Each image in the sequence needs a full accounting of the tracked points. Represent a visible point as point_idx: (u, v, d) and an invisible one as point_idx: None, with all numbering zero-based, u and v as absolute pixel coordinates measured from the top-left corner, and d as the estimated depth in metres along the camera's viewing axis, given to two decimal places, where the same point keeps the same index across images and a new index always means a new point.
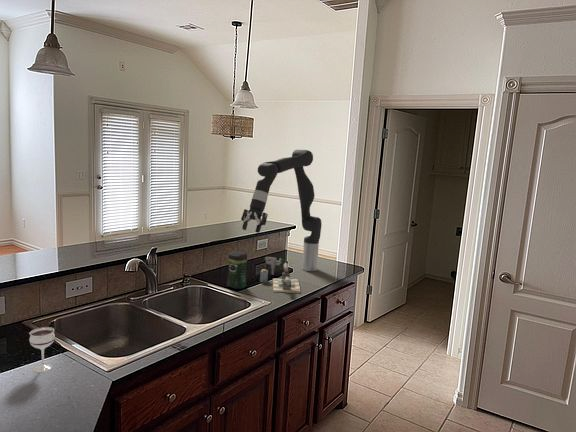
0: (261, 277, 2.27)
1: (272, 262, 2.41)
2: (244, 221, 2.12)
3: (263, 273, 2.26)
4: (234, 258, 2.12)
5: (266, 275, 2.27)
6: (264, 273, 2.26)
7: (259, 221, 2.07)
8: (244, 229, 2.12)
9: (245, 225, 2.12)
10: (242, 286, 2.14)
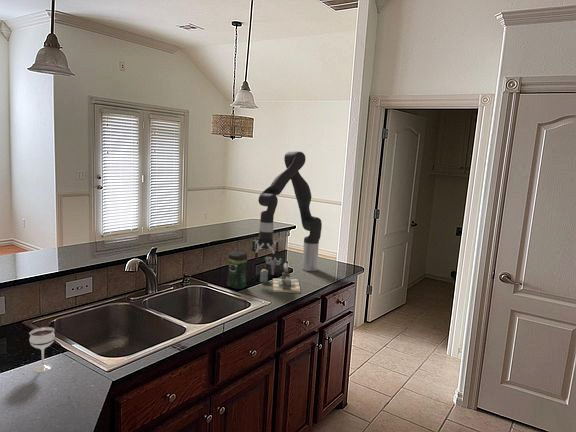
0: (261, 277, 2.27)
1: (272, 262, 2.41)
2: (256, 252, 2.25)
3: (263, 273, 2.26)
4: (234, 258, 2.12)
5: (266, 275, 2.27)
6: (264, 273, 2.26)
7: (273, 250, 2.26)
8: (257, 258, 2.27)
9: (257, 255, 2.27)
10: (242, 286, 2.14)
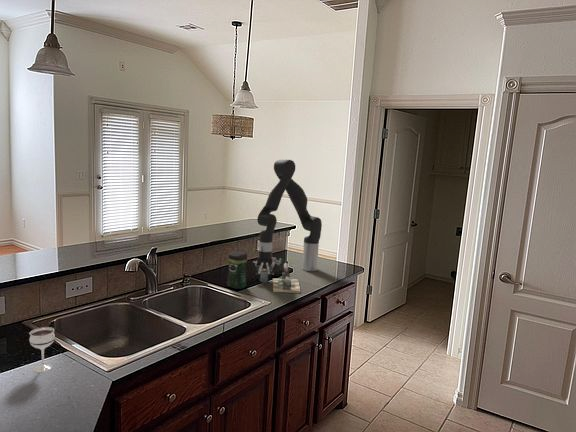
0: (261, 277, 2.27)
1: None
2: (259, 273, 2.27)
3: (263, 273, 2.26)
4: (234, 258, 2.12)
5: (266, 275, 2.27)
6: (264, 273, 2.26)
7: (269, 271, 2.28)
8: None
9: None
10: (242, 286, 2.14)
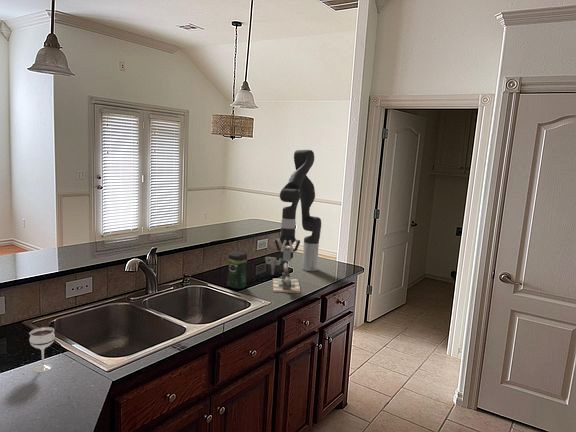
0: (284, 255, 2.19)
1: (272, 262, 2.41)
2: (282, 251, 2.19)
3: (286, 251, 2.18)
4: (234, 258, 2.12)
5: (289, 253, 2.18)
6: (287, 251, 2.18)
7: (292, 249, 2.19)
8: (282, 258, 2.21)
9: None
10: (242, 286, 2.14)
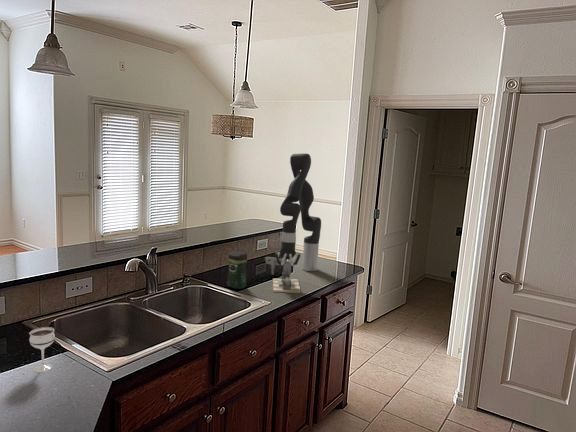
0: (284, 269, 2.19)
1: (272, 262, 2.41)
2: (282, 264, 2.20)
3: (286, 264, 2.19)
4: (234, 258, 2.12)
5: (289, 267, 2.19)
6: (287, 264, 2.19)
7: (293, 262, 2.20)
8: None
9: None
10: (242, 286, 2.14)
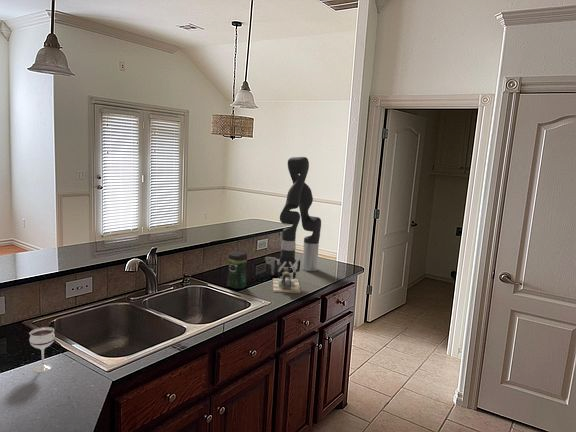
0: (283, 280, 2.20)
1: (272, 262, 2.41)
2: (279, 271, 2.20)
3: (286, 276, 2.20)
4: (234, 258, 2.12)
5: None
6: (287, 276, 2.20)
7: (295, 269, 2.21)
8: None
9: None
10: (242, 286, 2.14)
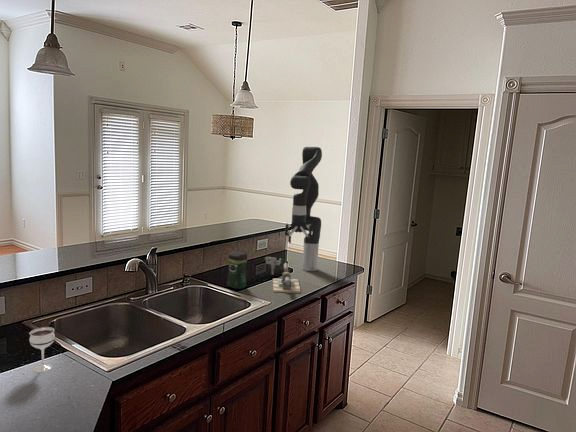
0: (283, 280, 2.20)
1: (272, 262, 2.41)
2: (289, 235, 2.23)
3: (286, 276, 2.20)
4: (234, 258, 2.12)
5: None
6: (287, 276, 2.20)
7: (306, 233, 2.23)
8: (290, 242, 2.24)
9: (290, 238, 2.24)
10: (242, 286, 2.14)
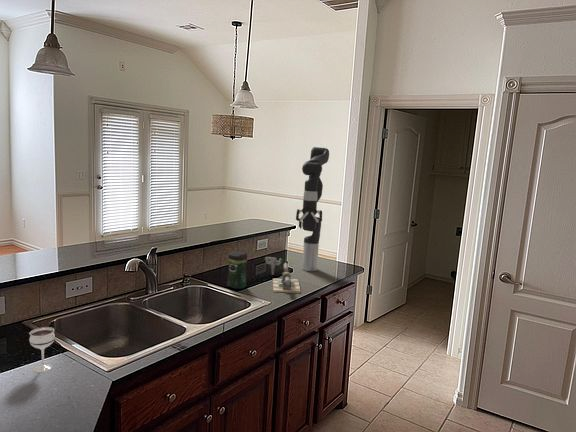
0: (283, 280, 2.20)
1: (272, 262, 2.41)
2: (300, 221, 2.27)
3: (286, 276, 2.20)
4: (234, 258, 2.12)
5: None
6: (287, 276, 2.20)
7: (317, 219, 2.28)
8: None
9: (301, 224, 2.28)
10: (242, 286, 2.14)
